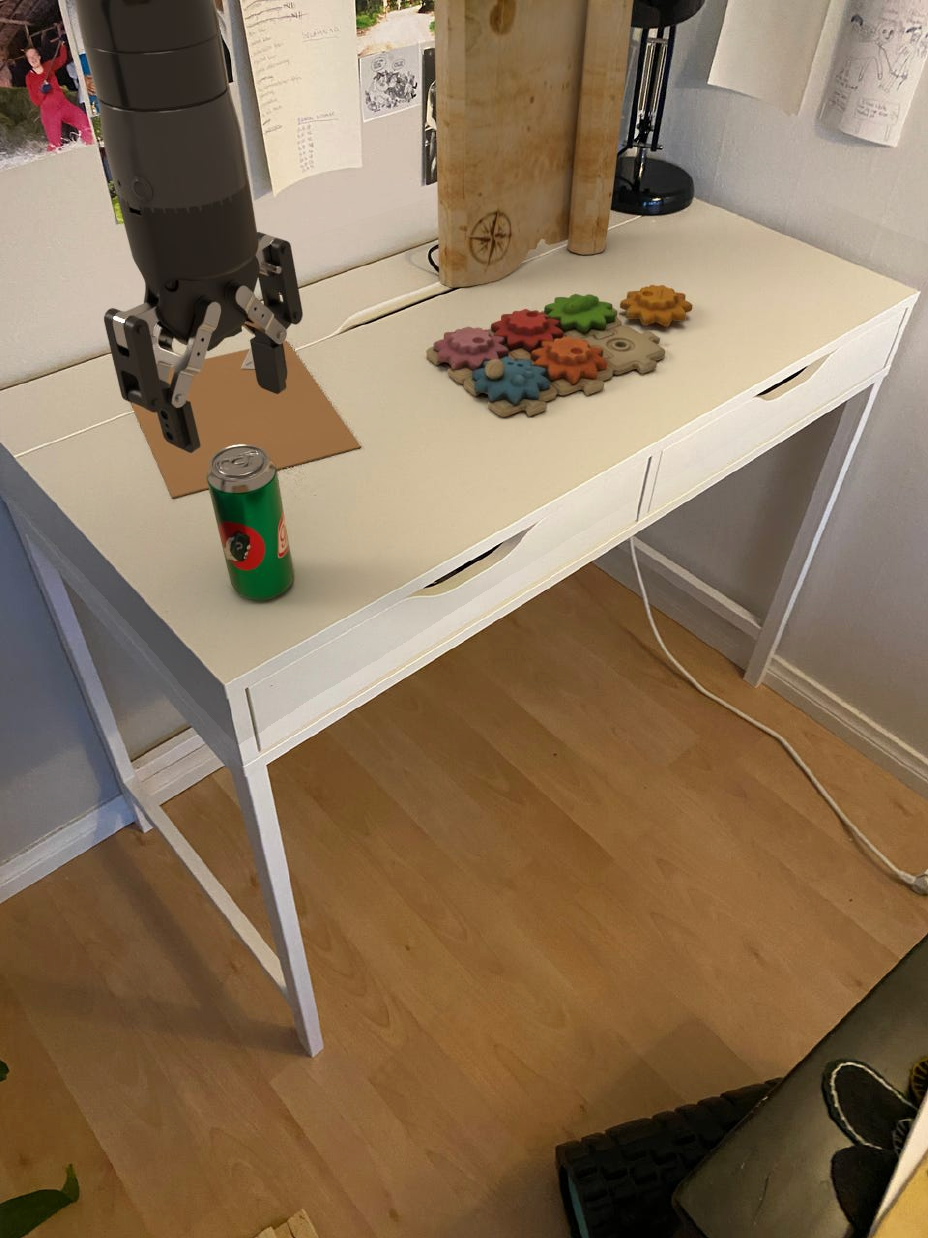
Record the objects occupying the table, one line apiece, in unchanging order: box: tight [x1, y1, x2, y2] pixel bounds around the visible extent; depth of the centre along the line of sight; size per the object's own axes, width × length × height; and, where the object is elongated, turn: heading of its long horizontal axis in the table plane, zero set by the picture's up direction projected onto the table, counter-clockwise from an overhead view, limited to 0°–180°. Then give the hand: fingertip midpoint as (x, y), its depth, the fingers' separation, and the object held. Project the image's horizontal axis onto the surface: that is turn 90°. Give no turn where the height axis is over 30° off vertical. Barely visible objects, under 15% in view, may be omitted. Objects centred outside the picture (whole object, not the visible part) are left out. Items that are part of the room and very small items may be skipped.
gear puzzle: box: [425, 284, 694, 417], centre depth 102 cm, size 31×16×4 cm, turn 123°
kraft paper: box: [130, 340, 362, 500], centre depth 95 cm, size 18×22×1 cm
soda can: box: [207, 444, 295, 601], centre depth 73 cm, size 5×5×12 cm
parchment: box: [433, 0, 634, 289], centre depth 108 cm, size 23×6×30 cm, turn 117°
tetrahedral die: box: [241, 347, 255, 369], centre depth 100 cm, size 4×3×3 cm
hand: (230, 416), depth 66 cm, fingers open, 8 cm apart
